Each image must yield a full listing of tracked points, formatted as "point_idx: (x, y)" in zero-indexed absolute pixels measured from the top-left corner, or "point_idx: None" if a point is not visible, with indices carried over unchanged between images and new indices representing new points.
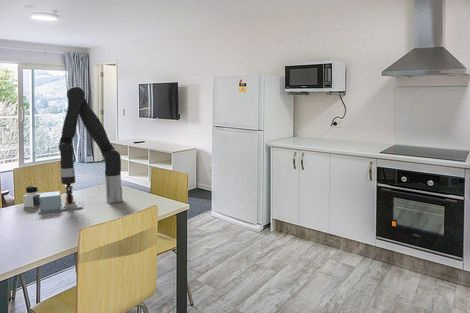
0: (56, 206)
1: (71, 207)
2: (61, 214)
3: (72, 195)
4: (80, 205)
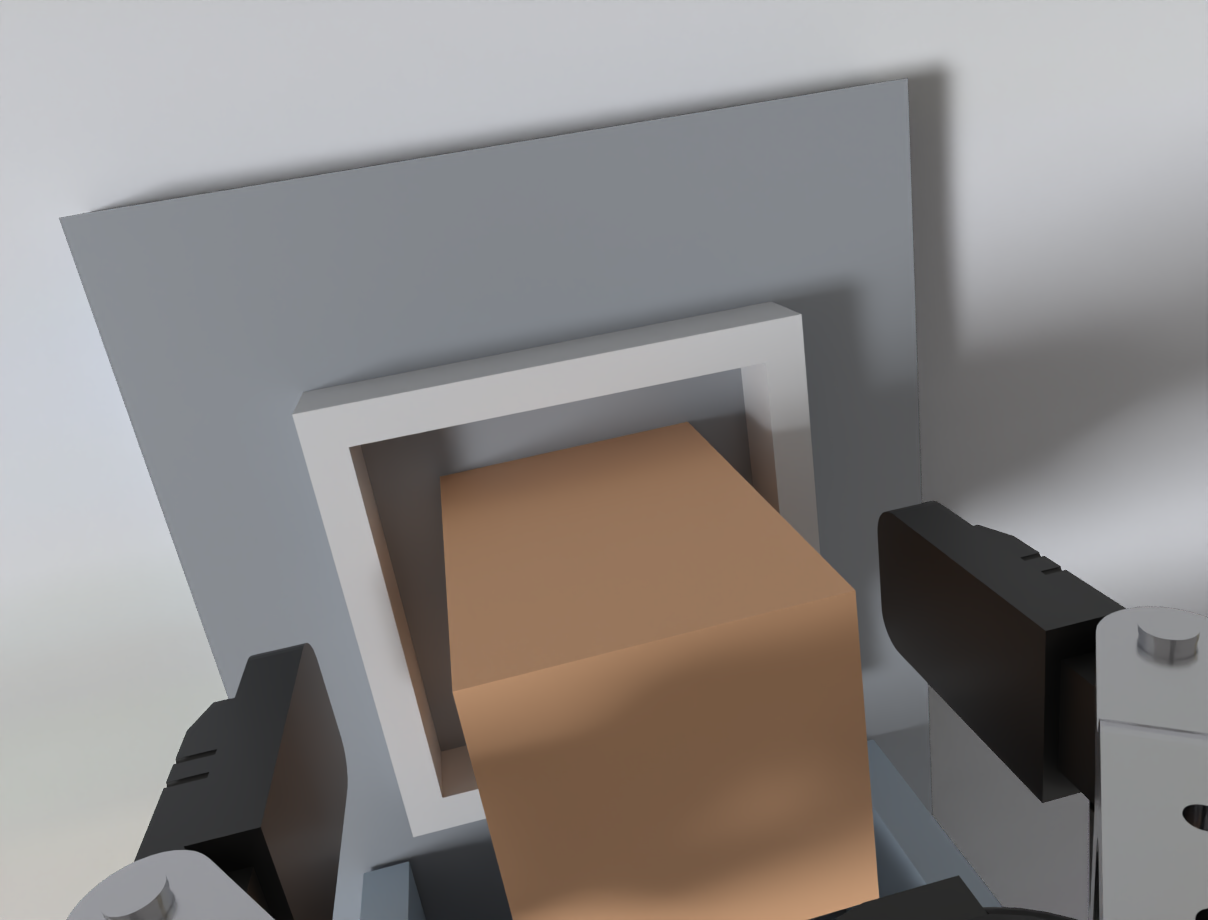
0: None
1: (829, 470)
2: (1180, 607)
3: (626, 678)
4: (675, 187)
